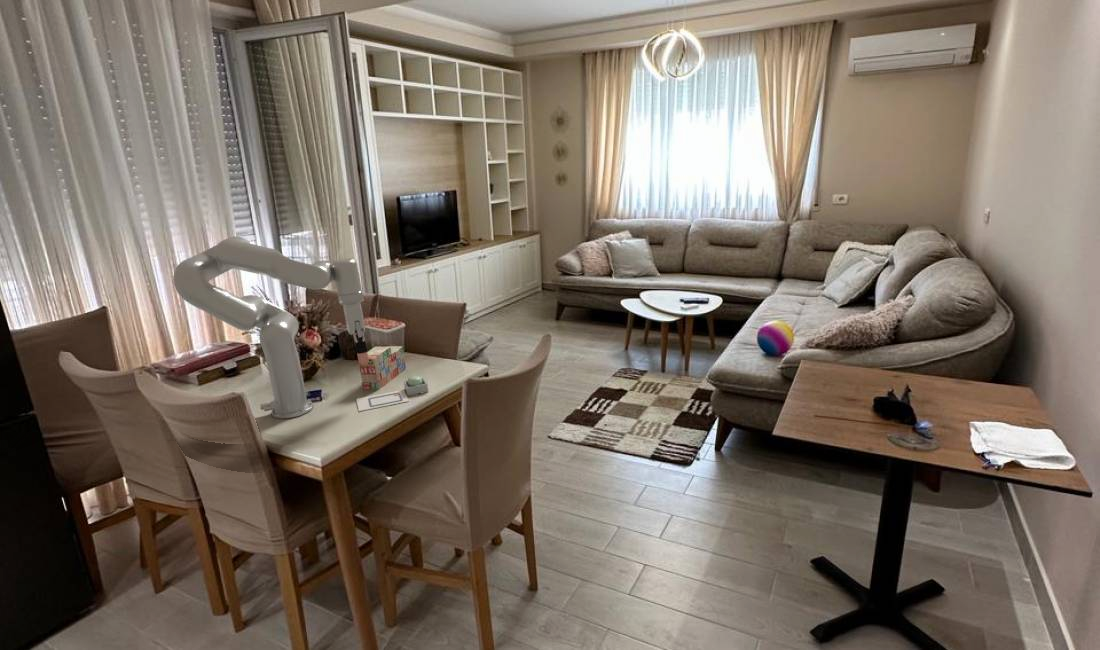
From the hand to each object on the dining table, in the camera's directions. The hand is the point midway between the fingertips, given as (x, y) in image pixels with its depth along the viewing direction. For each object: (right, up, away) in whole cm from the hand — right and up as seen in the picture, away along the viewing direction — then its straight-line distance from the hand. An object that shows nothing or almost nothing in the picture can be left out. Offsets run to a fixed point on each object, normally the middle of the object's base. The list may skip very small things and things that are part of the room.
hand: (361, 350), depth 190 cm
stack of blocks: (+1, -12, +24) cm, 27 cm away
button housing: (+16, -14, +11) cm, 24 cm away
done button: (+16, -13, +11) cm, 23 cm away
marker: (+1, -4, +1) cm, 4 cm away
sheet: (+6, -17, +4) cm, 18 cm away
